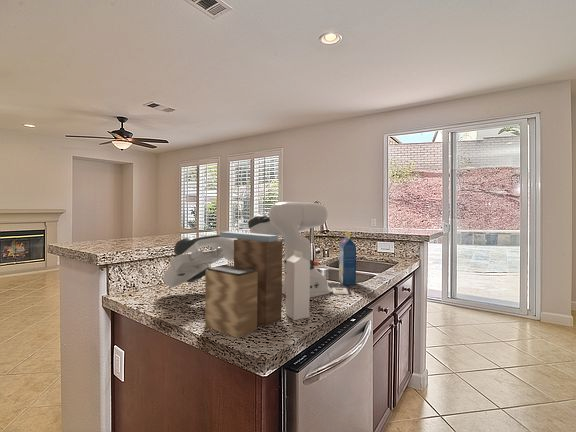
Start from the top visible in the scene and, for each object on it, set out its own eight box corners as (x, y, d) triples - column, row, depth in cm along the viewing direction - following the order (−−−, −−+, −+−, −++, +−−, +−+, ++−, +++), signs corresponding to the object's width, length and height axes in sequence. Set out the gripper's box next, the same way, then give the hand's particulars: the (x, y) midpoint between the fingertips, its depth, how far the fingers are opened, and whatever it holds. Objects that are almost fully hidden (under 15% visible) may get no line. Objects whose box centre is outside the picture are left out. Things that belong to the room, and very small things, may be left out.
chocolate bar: (346, 283, 151) (351, 293, 133) (346, 285, 151) (351, 295, 133) (327, 282, 151) (330, 293, 133) (327, 284, 151) (330, 295, 133)
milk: (293, 320, 102) (294, 253, 102) (285, 314, 108) (285, 250, 107) (309, 317, 105) (310, 252, 104) (300, 311, 111) (301, 249, 110)
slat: (220, 237, 110) (220, 232, 110) (229, 236, 114) (229, 231, 113) (269, 242, 97) (269, 236, 97) (277, 240, 101) (278, 235, 101)
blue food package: (342, 286, 147) (343, 233, 147) (338, 280, 159) (339, 231, 159) (355, 286, 147) (356, 233, 147) (350, 280, 159) (351, 231, 159)
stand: (233, 317, 104) (233, 239, 104) (249, 310, 111) (250, 237, 110) (265, 327, 96) (266, 242, 95) (281, 319, 103) (282, 240, 102)
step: (205, 326, 96) (205, 268, 95) (224, 319, 103) (224, 264, 102) (238, 338, 88) (238, 274, 87) (257, 329, 94) (257, 269, 94)
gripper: (213, 268, 131) (234, 254, 124) (170, 276, 114) (191, 261, 107) (208, 254, 132) (228, 240, 125) (165, 260, 116) (185, 244, 109)
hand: (211, 250), depth 116 cm, fingers open, 8 cm apart
